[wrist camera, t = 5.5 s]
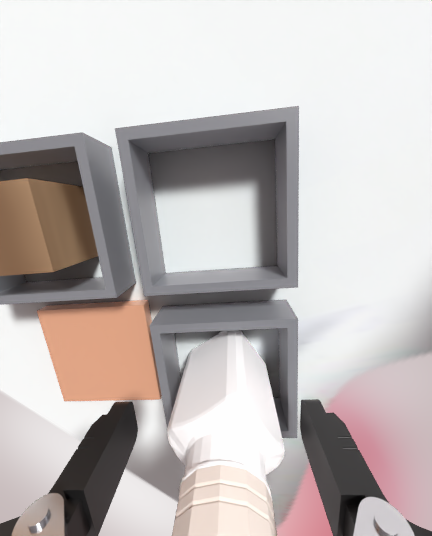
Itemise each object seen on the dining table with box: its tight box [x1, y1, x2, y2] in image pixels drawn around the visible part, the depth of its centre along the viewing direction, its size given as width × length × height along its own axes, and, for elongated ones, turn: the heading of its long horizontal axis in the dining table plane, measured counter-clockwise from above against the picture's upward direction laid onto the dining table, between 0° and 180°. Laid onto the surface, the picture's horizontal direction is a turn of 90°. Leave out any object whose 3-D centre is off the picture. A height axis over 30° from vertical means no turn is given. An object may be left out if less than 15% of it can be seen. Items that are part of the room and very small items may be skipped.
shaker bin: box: [150, 300, 298, 438], centre depth 14 cm, size 8×8×2 cm
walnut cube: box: [0, 178, 98, 276], centre depth 12 cm, size 4×4×4 cm
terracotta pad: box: [37, 300, 162, 401], centre depth 15 cm, size 7×7×1 cm
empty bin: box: [115, 106, 299, 296], centre depth 12 cm, size 8×8×2 cm
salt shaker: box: [167, 330, 285, 536], centre depth 11 cm, size 4×4×10 cm
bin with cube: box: [0, 133, 136, 304], centre depth 12 cm, size 8×8×2 cm
